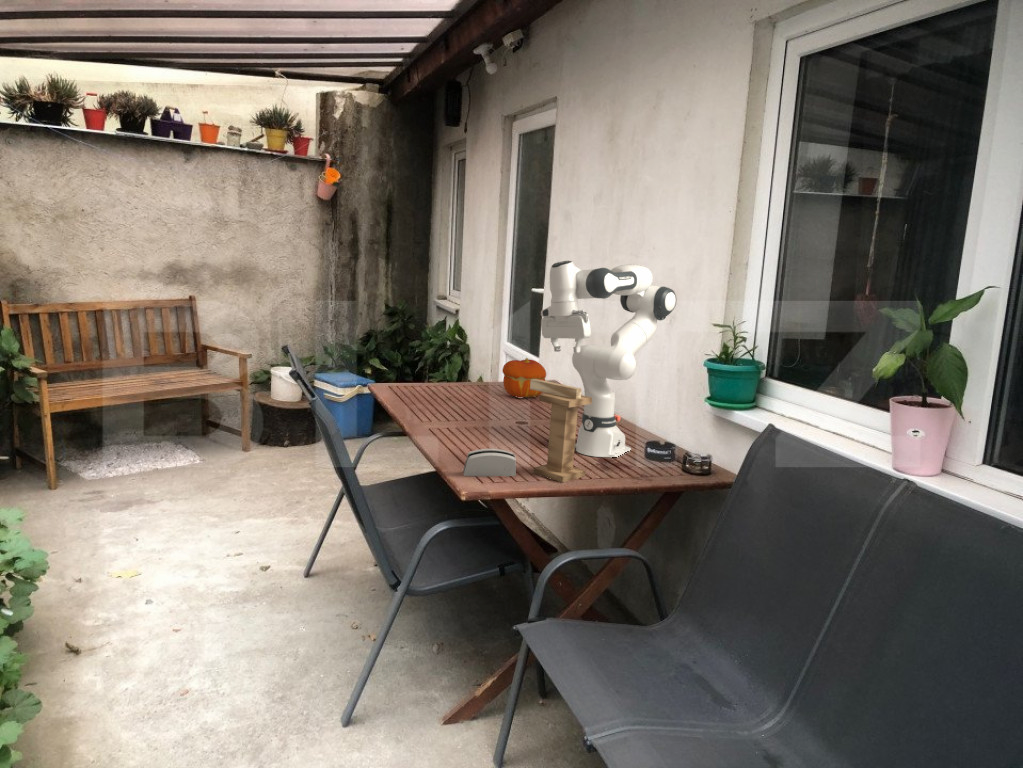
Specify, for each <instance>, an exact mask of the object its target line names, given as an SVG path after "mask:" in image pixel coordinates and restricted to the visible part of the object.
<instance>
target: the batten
mask: <svg viewBox="0 0 1023 768" xmlns="http://www.w3.org/2000/svg"><path fill="white" fill-rule="evenodd" d="M530 389H532V390H536V391H541V392H542V393H544V394H547V393H550V394H554V395H559V396H563V397H568V398H572V399H581V395H582V388H581V387H575V386H570V385H566V384H561V383H556V382H552V381H547V380H545V381H542V380H538V379H531V382H530Z"/></svg>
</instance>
